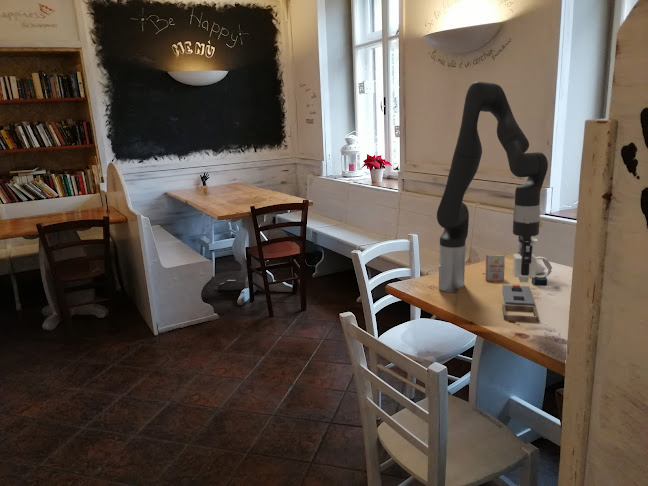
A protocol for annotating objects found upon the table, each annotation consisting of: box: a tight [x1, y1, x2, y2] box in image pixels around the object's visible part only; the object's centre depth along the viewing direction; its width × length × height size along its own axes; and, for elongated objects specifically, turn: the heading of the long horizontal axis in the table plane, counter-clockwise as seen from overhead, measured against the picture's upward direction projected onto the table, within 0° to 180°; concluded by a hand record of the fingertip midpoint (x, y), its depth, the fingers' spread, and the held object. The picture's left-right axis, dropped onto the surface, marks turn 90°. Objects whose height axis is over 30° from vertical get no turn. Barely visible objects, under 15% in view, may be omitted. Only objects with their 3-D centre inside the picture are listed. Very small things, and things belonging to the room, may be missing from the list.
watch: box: [531, 255, 553, 287], centre depth 191 cm, size 6×8×11 cm
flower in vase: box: [531, 219, 546, 275], centre depth 205 cm, size 13×11×25 cm
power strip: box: [501, 283, 536, 307], centre depth 175 cm, size 9×17×4 cm, turn 164°
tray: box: [501, 303, 540, 323], centre depth 162 cm, size 10×9×3 cm
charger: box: [512, 253, 537, 283], centre depth 159 cm, size 6×5×8 cm
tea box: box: [484, 254, 506, 282], centre depth 199 cm, size 4×7×10 cm, turn 76°
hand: (523, 272), depth 159 cm, fingers closed on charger, 5 cm apart
